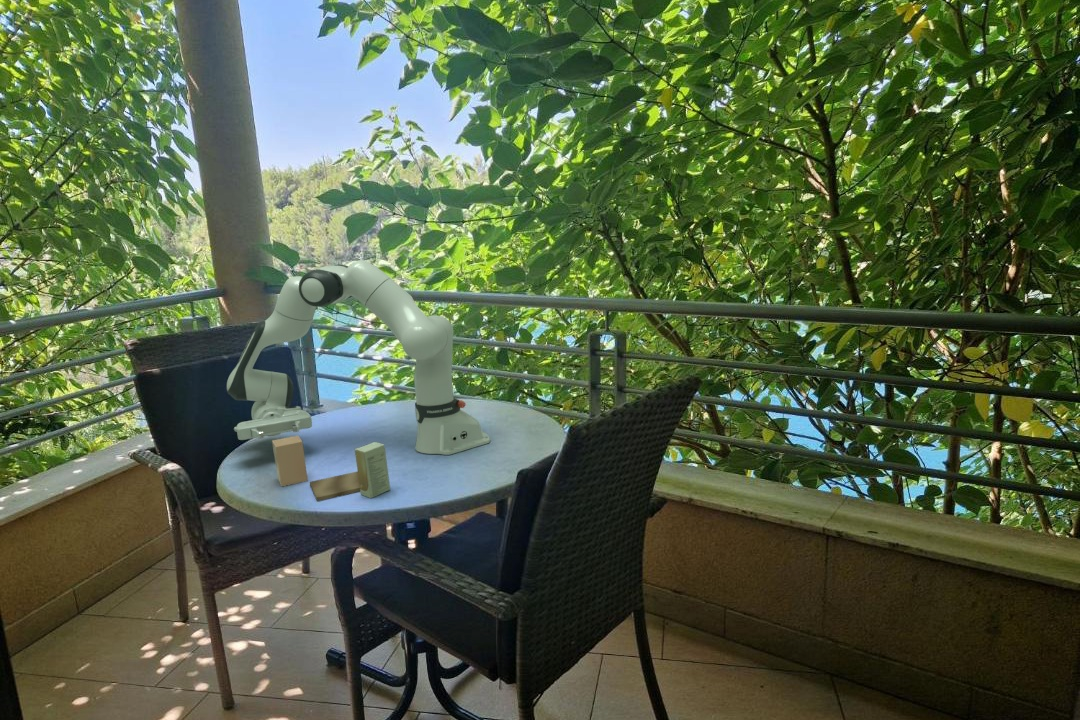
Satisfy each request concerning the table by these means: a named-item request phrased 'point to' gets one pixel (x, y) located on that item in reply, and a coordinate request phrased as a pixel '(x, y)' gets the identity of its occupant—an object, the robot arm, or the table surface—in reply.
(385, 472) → the skincare box
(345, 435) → the table surface
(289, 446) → the tall tan cardboard box
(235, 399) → the robot arm
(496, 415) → the table surface
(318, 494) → the board
